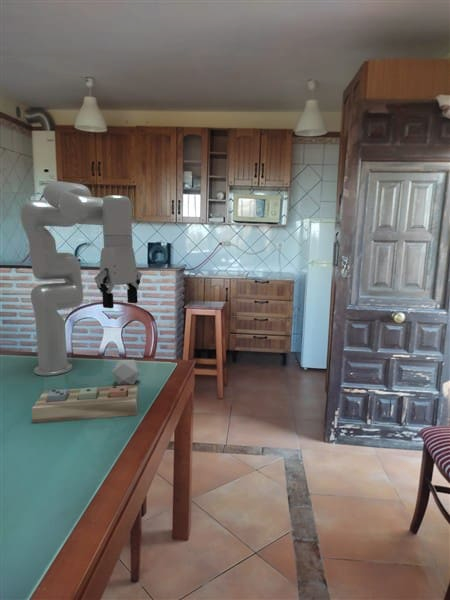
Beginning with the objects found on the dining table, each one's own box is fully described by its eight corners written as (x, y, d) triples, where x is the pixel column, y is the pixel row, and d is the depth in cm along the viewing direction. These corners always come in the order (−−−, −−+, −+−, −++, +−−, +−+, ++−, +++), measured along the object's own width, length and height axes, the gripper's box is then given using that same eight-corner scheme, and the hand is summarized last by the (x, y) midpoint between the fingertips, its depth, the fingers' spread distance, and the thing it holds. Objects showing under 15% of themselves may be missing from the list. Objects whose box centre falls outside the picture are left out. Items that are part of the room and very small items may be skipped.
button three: (51, 400, 106) (51, 389, 106) (68, 399, 107) (67, 388, 107) (47, 406, 102) (46, 395, 102) (65, 405, 103) (64, 394, 103)
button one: (82, 398, 108) (81, 387, 107) (98, 397, 109) (97, 386, 108) (79, 404, 104) (78, 393, 103) (96, 403, 104) (95, 392, 104)
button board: (45, 404, 110) (44, 390, 109) (137, 397, 115) (137, 385, 114) (32, 423, 98) (31, 408, 98) (136, 415, 103) (135, 401, 103)
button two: (111, 396, 109) (110, 385, 109) (127, 395, 110) (126, 384, 110) (109, 402, 105) (109, 391, 105) (126, 401, 106) (125, 390, 106)
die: (125, 392, 121) (143, 366, 123) (103, 377, 122) (120, 351, 124) (131, 391, 129) (147, 367, 131) (110, 378, 130) (126, 353, 132)
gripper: (128, 243, 113) (131, 300, 115) (83, 242, 98) (87, 308, 100) (149, 243, 110) (151, 302, 112) (105, 242, 94) (108, 310, 97)
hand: (120, 305), depth 106 cm, fingers open, 9 cm apart
